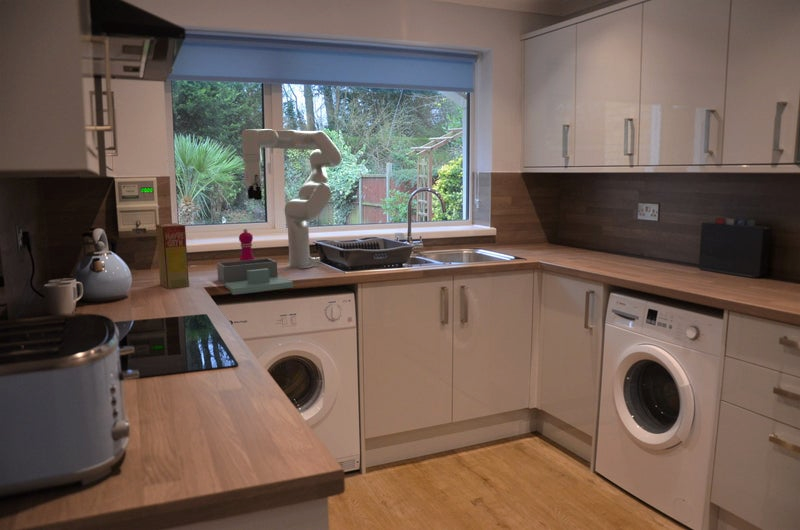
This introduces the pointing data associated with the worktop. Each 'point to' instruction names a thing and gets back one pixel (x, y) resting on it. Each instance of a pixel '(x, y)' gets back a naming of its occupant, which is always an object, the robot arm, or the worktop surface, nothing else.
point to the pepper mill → (246, 245)
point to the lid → (258, 282)
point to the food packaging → (172, 255)
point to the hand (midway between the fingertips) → (254, 199)
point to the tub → (244, 269)
